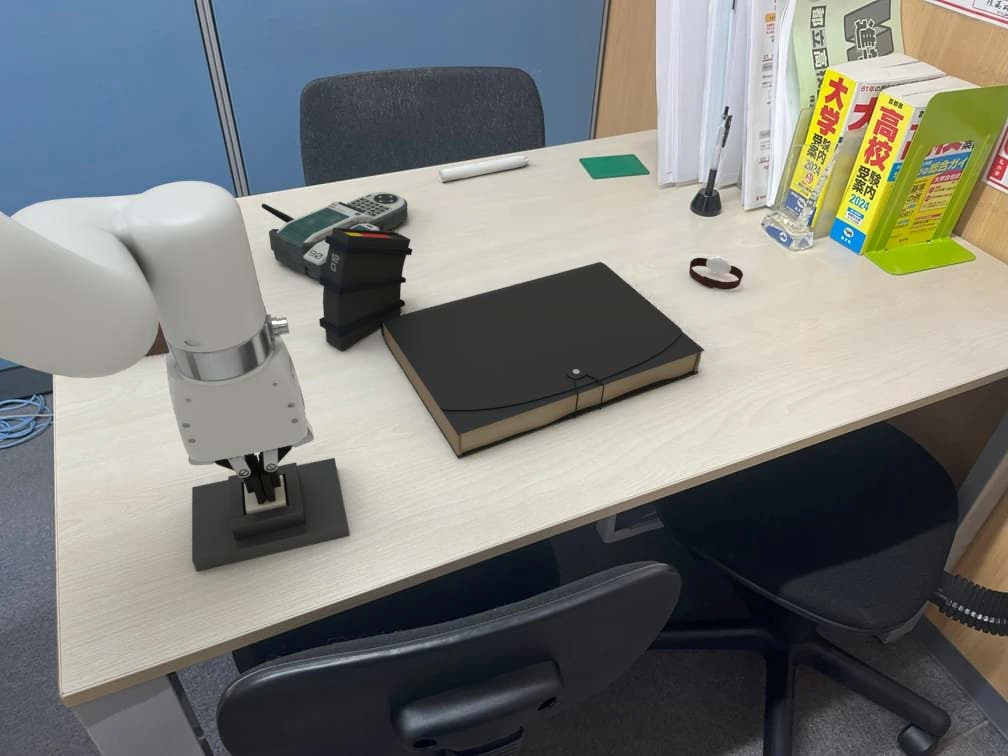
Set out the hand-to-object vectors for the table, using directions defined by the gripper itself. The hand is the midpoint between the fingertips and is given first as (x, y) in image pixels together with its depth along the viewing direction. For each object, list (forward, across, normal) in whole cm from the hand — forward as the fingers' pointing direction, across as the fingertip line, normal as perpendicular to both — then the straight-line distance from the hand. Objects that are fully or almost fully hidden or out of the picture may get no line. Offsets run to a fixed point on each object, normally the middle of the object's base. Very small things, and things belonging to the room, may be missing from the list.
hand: (266, 491), depth 68 cm
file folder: (+4, -34, -16) cm, 38 cm away
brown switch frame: (+4, +12, -36) cm, 39 cm away
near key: (+2, 0, 0) cm, 2 cm away
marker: (+4, -43, -68) cm, 81 cm away
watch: (+4, -65, -25) cm, 70 cm away
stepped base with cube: (+4, 0, 0) cm, 4 cm away
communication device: (+4, -16, -50) cm, 53 cm away
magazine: (+4, -15, -28) cm, 32 cm away
